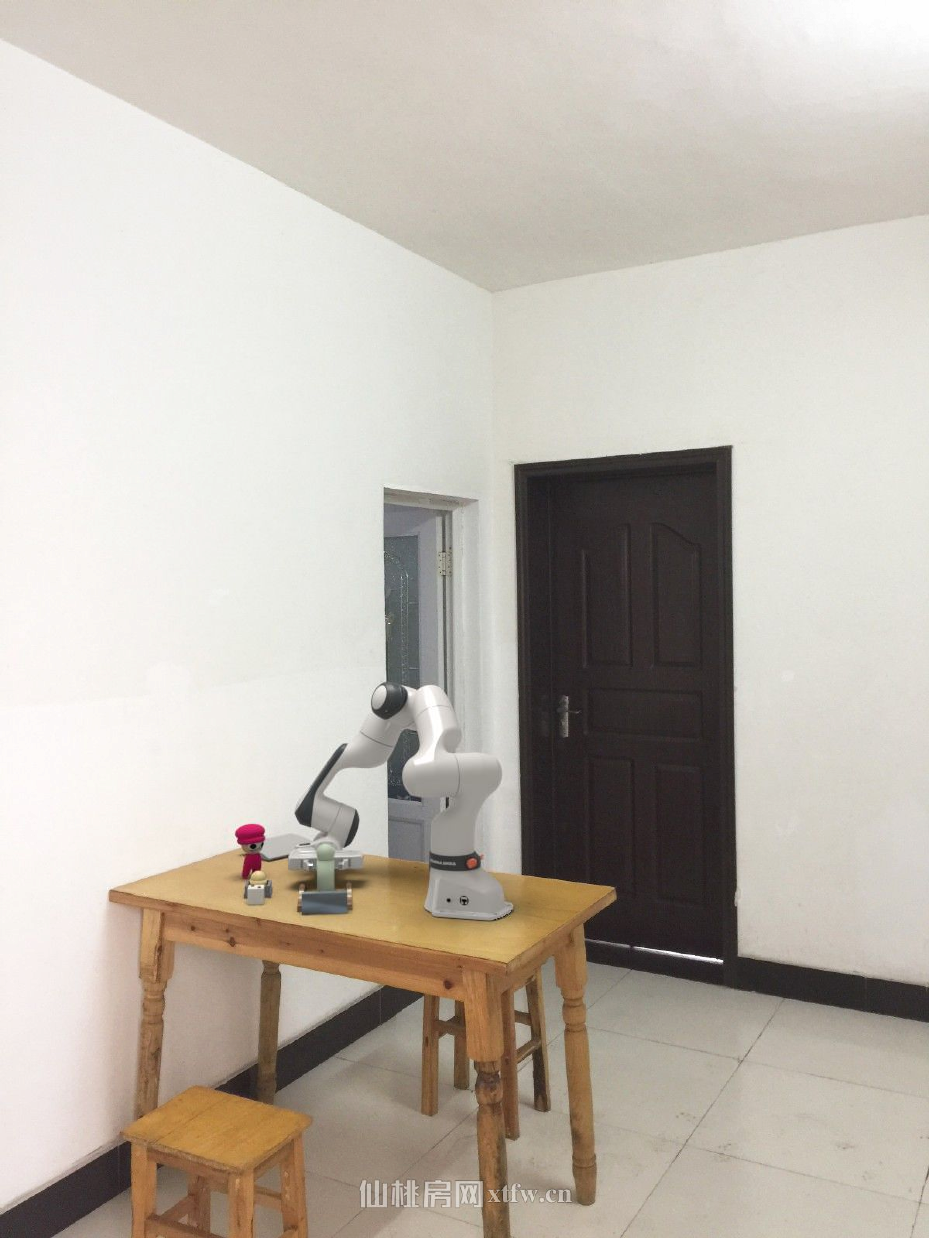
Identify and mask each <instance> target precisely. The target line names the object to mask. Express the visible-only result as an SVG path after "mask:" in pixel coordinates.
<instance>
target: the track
mask: <svg viewBox="0 0 929 1238" xmlns="http://www.w3.org/2000/svg"><path fill="white" fill-rule="evenodd" d="M352 889H353V888H352V882H346V890H334V891H322V892H317V891H305V890H306V884H305V883H300V884H299V891H298V897H297V898H298V899H297V906H296V910H297V911H296V912H298V913H299V912H301V915H321V914H322V915H325V914H348V911H352V910H353V893H352V891H353V890H352Z"/></svg>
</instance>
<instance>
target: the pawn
mask: <svg viewBox="0 0 929 1238" xmlns="http://www.w3.org/2000/svg"><path fill="white" fill-rule="evenodd" d="M316 854H317V858H318V859H317V871H316V892H322V891H335V870H334V855H335V851H334V848H333V847H332V846H331V845H329V844H323V845H321V846H320V847H319V848H318V849H317V853H316Z"/></svg>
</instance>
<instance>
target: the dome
mask: <svg viewBox="0 0 929 1238" xmlns="http://www.w3.org/2000/svg"><path fill="white" fill-rule="evenodd" d="M249 880H250V885H252V884H254V885H267V880H268V878H267V876H266V874H265V872H264V871H262V870H261V871H255V872H254V873H253V874H252V873H251V875H250V878H249Z"/></svg>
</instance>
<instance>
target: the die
mask: <svg viewBox="0 0 929 1238" xmlns="http://www.w3.org/2000/svg"><path fill="white" fill-rule="evenodd" d="M247 897H248V898H247V906H257V905H264V903H265V899H266V898H265V885H254V884H252V885H249V886H248V889H247Z"/></svg>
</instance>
